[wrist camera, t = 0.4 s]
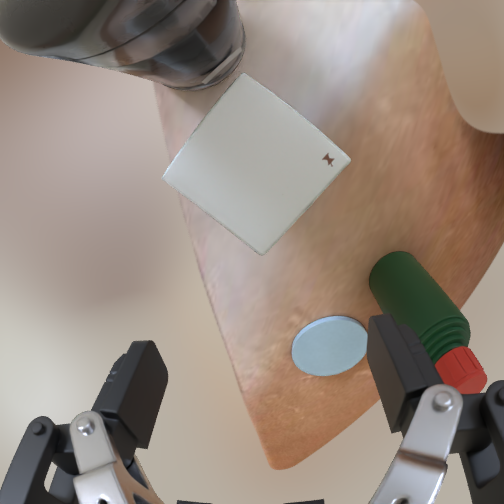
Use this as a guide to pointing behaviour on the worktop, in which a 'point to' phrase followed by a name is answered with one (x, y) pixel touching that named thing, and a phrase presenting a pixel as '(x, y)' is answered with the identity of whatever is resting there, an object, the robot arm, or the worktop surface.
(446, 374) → the cap
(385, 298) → the sauce bottle
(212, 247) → the worktop surface
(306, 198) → the white packaging box
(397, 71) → the worktop surface
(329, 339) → the saucer
